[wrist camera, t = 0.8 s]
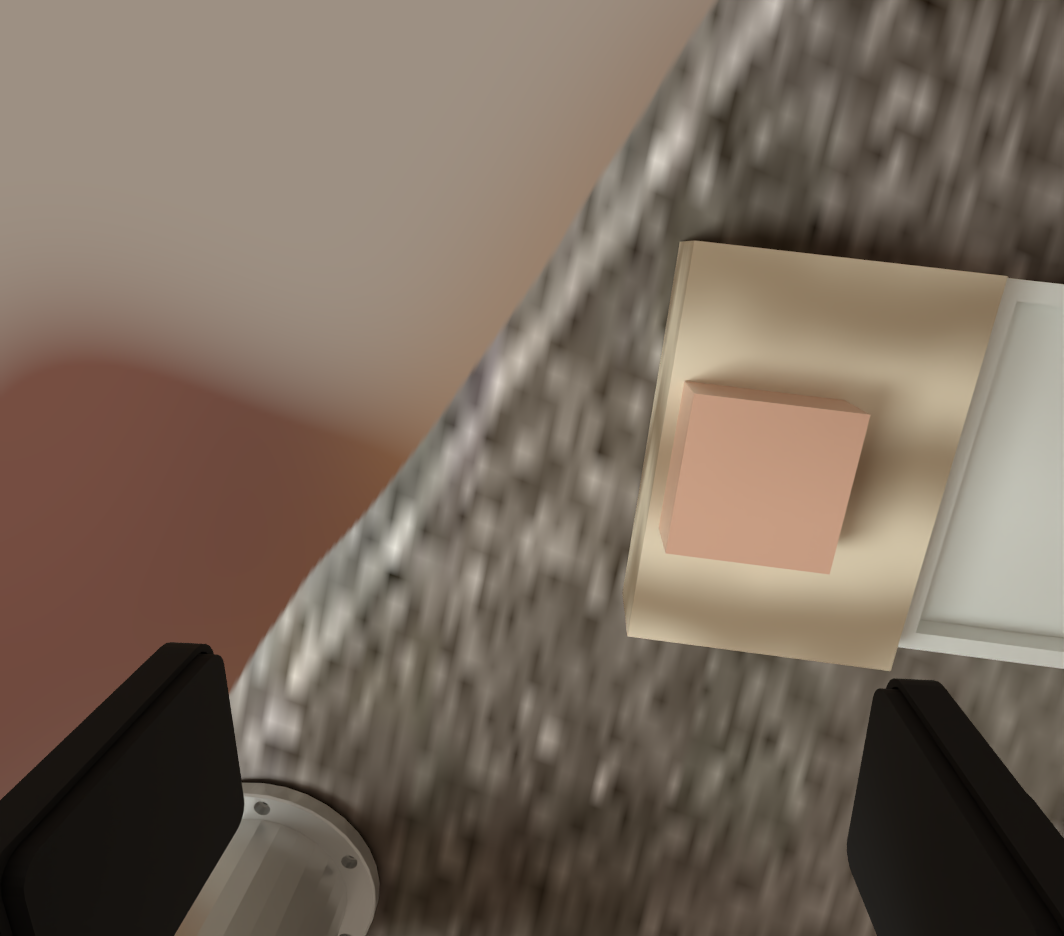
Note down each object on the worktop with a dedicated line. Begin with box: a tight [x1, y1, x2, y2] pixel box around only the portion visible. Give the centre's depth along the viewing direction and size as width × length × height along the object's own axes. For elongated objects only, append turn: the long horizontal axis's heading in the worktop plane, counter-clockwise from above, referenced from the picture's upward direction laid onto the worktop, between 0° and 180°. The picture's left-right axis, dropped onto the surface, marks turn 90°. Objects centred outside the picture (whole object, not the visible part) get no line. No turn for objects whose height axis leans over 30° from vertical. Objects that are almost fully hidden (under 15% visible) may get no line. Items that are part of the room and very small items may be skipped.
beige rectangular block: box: [623, 241, 1008, 671], centre depth 30 cm, size 16×11×4 cm
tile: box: [659, 381, 870, 574], centre depth 26 cm, size 6×6×2 cm
